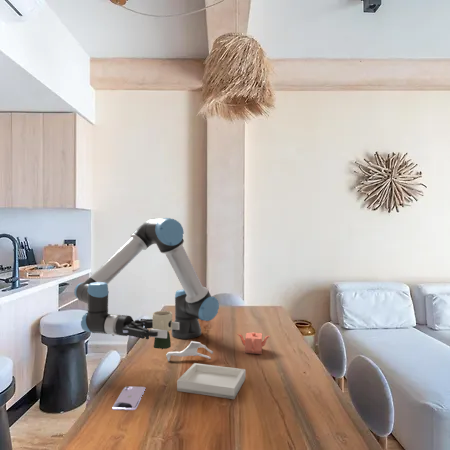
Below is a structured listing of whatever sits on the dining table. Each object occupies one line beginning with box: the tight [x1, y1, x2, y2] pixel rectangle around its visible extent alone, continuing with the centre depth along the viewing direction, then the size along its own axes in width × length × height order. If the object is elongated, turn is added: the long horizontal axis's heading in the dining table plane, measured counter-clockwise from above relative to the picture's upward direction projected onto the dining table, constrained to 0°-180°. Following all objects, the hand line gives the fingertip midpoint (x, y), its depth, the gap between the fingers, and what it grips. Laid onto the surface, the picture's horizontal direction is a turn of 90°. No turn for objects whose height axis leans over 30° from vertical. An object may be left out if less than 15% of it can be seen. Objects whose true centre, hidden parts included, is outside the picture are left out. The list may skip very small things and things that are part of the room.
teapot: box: [236, 331, 271, 355], centre depth 161 cm, size 12×15×8 cm
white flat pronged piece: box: [165, 340, 214, 362], centre depth 151 cm, size 2×11×18 cm
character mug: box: [152, 310, 173, 350], centre depth 134 cm, size 11×7×13 cm, turn 8°
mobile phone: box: [111, 386, 146, 411], centre depth 117 cm, size 8×1×15 cm
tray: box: [176, 362, 247, 400], centre depth 127 cm, size 16×20×4 cm
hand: (173, 330), depth 133 cm, fingers closed on character mug, 10 cm apart
